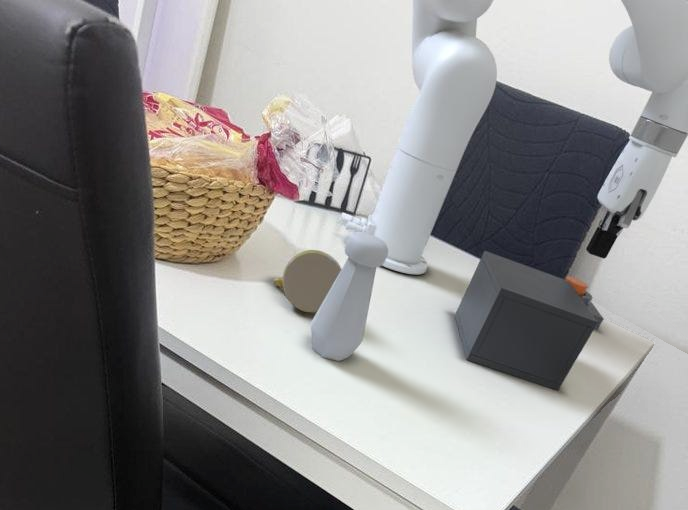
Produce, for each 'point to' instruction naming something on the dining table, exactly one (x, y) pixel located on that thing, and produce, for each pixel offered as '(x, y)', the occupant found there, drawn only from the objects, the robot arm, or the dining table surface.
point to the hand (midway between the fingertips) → (595, 254)
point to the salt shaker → (348, 299)
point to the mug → (309, 279)
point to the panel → (592, 308)
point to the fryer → (523, 321)
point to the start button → (577, 285)
